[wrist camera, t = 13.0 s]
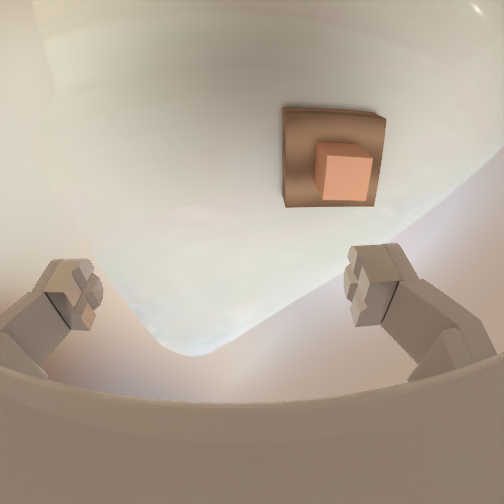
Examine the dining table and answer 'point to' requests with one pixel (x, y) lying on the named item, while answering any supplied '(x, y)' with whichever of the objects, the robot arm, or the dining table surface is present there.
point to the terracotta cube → (342, 171)
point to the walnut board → (326, 130)
